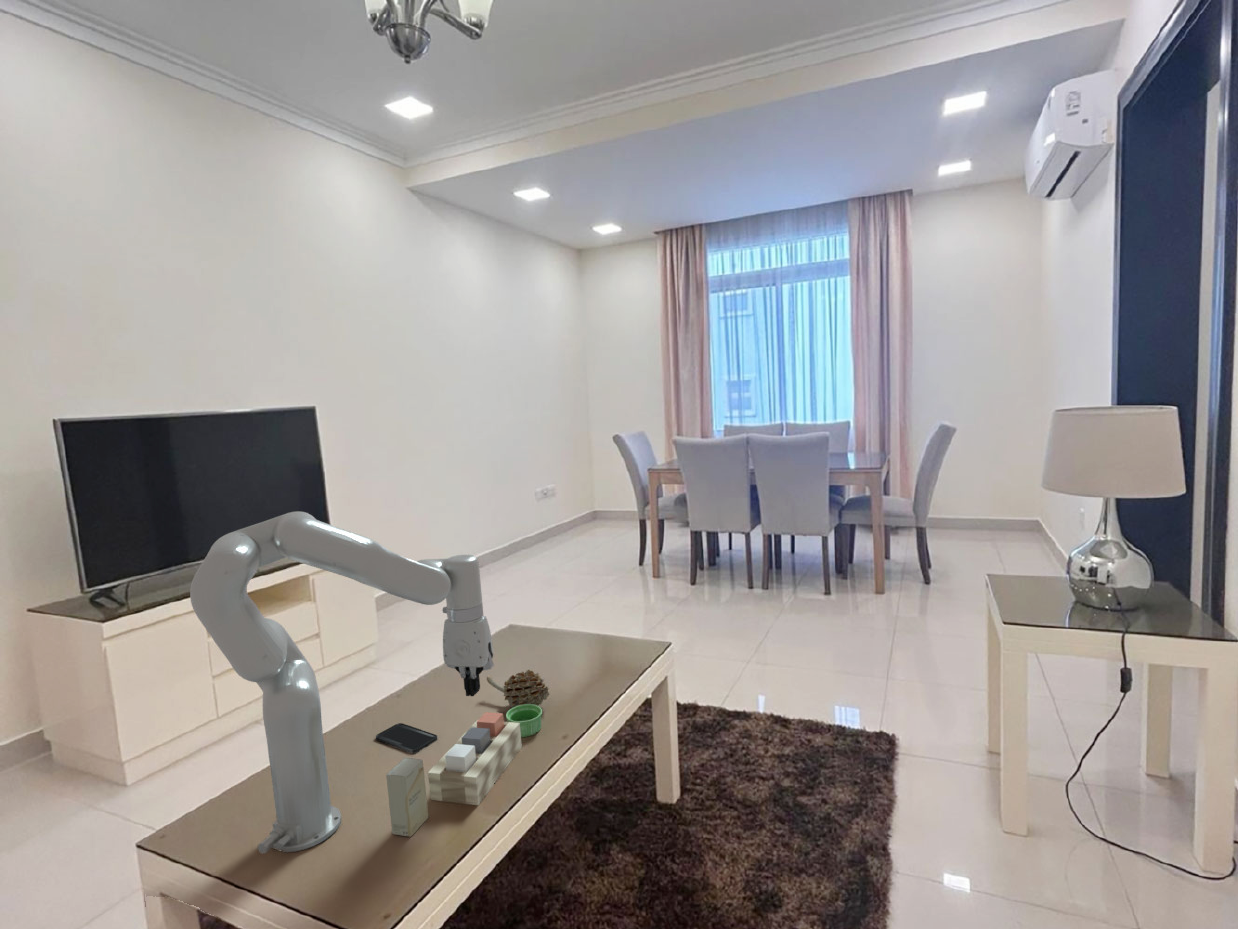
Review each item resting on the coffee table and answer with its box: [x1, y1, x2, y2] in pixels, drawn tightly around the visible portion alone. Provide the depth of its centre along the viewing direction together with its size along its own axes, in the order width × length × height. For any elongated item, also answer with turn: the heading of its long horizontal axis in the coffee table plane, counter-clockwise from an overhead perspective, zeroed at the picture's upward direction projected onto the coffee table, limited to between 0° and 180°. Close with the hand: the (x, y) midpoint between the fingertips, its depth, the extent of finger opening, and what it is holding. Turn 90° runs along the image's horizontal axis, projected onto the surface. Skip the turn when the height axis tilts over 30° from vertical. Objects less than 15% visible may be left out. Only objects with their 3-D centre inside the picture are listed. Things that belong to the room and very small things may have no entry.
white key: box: [444, 743, 476, 773], centre depth 133 cm, size 4×4×6 cm
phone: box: [375, 722, 438, 754], centre depth 156 cm, size 8×1×15 cm
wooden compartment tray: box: [427, 719, 523, 806], centre depth 140 cm, size 22×11×6 cm, turn 165°
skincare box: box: [385, 757, 429, 837], centre depth 123 cm, size 6×4×12 cm
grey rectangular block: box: [461, 726, 491, 754], centre depth 140 cm, size 4×4×6 cm
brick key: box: [476, 711, 505, 737], centre depth 147 cm, size 4×4×6 cm
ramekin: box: [505, 704, 543, 738], centre depth 158 cm, size 9×9×4 cm
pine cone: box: [486, 669, 550, 707], centre depth 171 cm, size 22×10×10 cm, turn 62°
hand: (472, 693), depth 139 cm, fingers closed
